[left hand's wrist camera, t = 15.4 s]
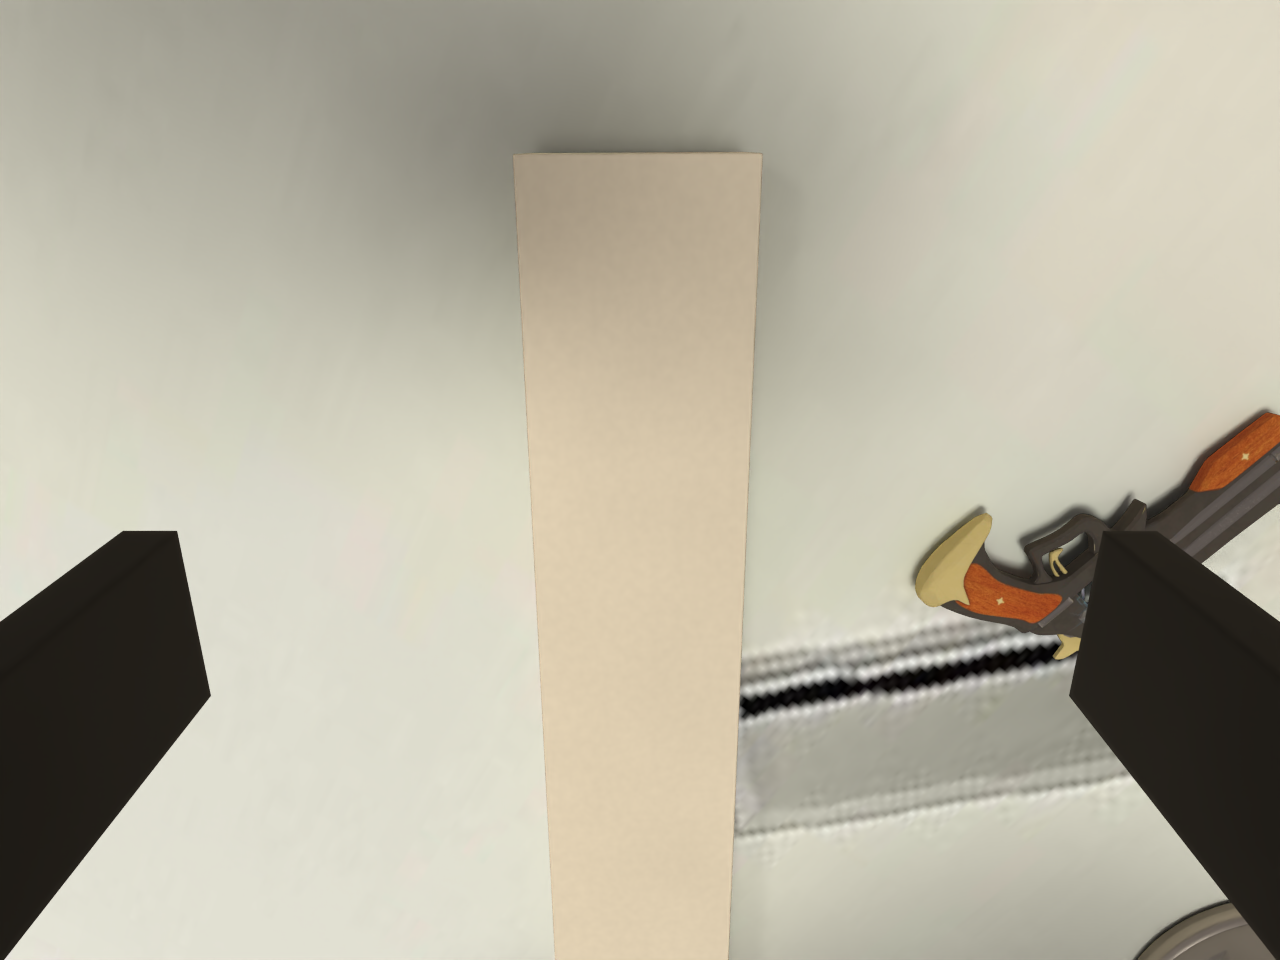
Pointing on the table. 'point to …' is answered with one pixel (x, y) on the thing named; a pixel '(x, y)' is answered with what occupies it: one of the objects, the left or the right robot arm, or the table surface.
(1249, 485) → the toy gun
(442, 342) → the table surface
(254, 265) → the table surface
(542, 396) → the thick board
